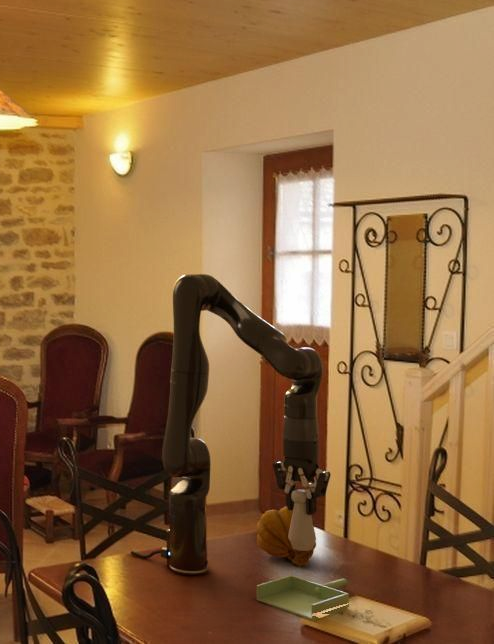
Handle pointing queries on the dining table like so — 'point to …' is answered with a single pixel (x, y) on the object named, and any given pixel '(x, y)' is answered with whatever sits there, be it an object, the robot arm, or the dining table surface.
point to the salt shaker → (301, 524)
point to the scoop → (304, 596)
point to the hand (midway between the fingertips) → (301, 511)
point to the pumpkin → (280, 536)
